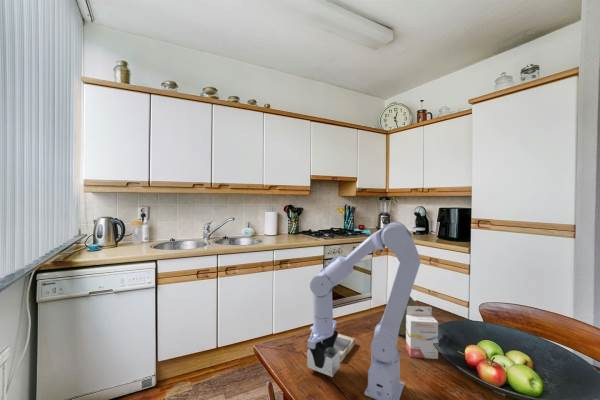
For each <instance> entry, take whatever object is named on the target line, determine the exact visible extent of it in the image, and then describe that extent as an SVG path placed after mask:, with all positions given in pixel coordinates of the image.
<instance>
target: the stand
mask: <svg viewBox="0 0 600 400" xmlns="http://www.w3.org/2000/svg"><path fill="white" fill-rule="evenodd" d="M321 342H322V341H321ZM322 344H323V343H322ZM355 345H356V339H355V337H351V336H348V335H344V334H341V333H338V336H337V338H336V341H335V344H334V348H335V349H338V350H340V363H342V362H343V360H344V359H345V358H346V356H347V355H348V354H349V353H350V352H351V350H352V349H353V348H354V346H355Z"/></svg>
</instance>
